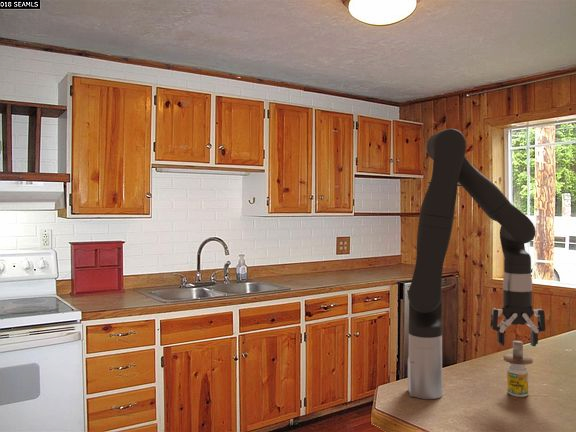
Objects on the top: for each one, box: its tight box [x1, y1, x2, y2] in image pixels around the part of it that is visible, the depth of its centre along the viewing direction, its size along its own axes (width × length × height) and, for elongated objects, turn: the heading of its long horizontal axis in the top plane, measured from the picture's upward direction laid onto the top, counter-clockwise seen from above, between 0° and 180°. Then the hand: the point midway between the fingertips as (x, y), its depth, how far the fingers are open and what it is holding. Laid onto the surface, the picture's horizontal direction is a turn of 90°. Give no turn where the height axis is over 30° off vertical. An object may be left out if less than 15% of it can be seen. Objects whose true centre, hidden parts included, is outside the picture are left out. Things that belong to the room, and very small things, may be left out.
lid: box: [502, 340, 534, 366], centre depth 144 cm, size 8×8×5 cm
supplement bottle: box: [506, 363, 529, 398], centre depth 144 cm, size 5×5×10 cm
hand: (517, 345), depth 144 cm, fingers open, 8 cm apart
